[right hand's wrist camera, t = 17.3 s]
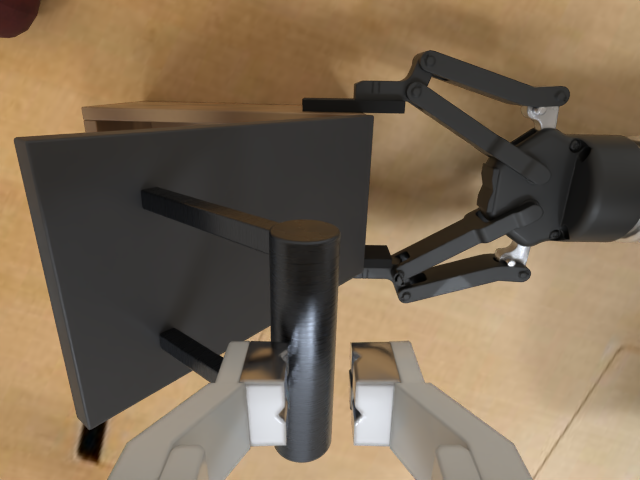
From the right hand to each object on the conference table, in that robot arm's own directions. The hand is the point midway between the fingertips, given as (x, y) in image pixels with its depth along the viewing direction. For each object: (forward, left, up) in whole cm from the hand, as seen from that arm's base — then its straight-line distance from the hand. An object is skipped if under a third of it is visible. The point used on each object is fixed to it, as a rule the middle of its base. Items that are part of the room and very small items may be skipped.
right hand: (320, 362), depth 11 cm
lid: (-3, +1, -10) cm, 11 cm away
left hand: (-1, 0, -20) cm, 20 cm away
